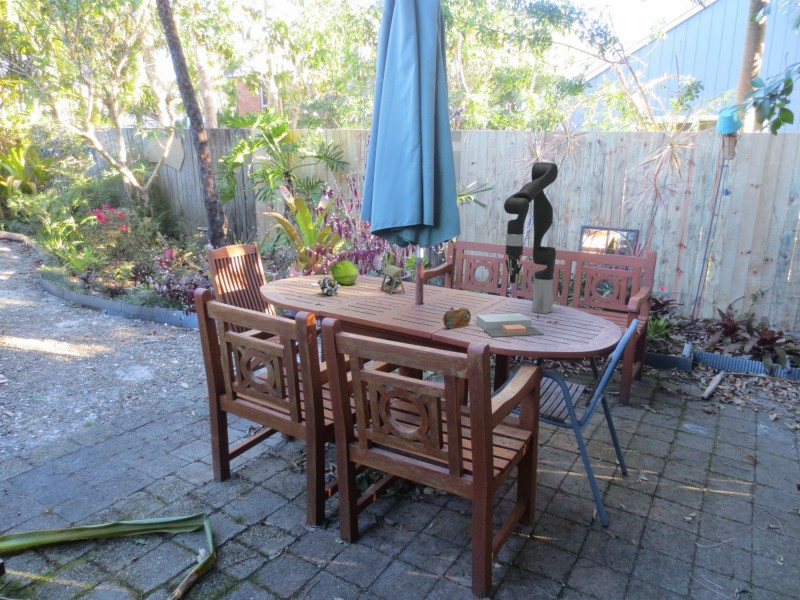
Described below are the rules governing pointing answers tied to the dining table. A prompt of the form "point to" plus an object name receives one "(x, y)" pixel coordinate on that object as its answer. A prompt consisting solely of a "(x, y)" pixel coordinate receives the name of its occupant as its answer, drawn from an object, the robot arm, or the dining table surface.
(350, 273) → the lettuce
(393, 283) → the swing bench
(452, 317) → the tin
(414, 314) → the dining table surface
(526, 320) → the plate
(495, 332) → the mat
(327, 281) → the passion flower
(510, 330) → the peach rectangular block
